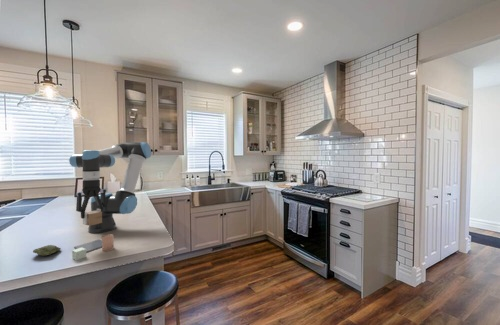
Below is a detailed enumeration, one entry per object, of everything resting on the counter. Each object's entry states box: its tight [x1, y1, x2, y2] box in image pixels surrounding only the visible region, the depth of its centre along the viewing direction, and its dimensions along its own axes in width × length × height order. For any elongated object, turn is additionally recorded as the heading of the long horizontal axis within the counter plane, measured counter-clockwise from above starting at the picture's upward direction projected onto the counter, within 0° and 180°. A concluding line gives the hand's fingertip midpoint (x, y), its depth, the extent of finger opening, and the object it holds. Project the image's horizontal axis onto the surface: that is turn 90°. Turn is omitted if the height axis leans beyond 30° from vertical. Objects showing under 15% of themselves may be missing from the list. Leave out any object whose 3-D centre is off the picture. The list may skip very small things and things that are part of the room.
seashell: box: [32, 244, 62, 257], centre depth 110 cm, size 10×7×10 cm
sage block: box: [71, 247, 87, 261], centre depth 106 cm, size 4×4×4 cm
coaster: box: [73, 239, 102, 254], centre depth 119 cm, size 12×12×1 cm
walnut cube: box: [86, 210, 102, 227], centre depth 118 cm, size 6×6×6 cm
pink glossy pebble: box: [101, 234, 115, 252], centre depth 115 cm, size 5×5×7 cm
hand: (92, 222), depth 119 cm, fingers closed on walnut cube, 6 cm apart
